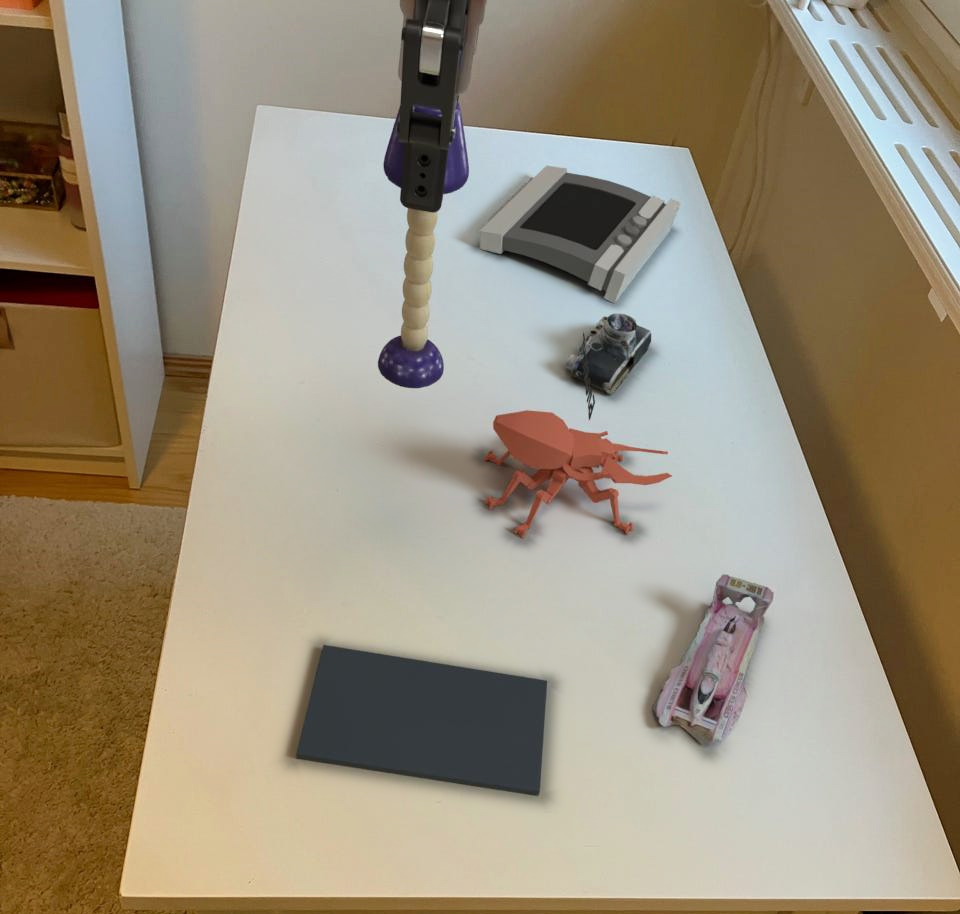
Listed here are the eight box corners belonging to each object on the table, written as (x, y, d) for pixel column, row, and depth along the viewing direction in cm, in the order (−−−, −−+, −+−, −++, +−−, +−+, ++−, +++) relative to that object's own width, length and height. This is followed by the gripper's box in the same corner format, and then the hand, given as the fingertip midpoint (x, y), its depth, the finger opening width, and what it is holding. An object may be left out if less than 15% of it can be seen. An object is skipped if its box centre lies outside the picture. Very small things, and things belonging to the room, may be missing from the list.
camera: (559, 378, 92) (568, 339, 89) (605, 326, 98) (615, 289, 95) (607, 400, 91) (618, 362, 88) (651, 347, 97) (663, 310, 94)
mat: (296, 758, 65) (296, 753, 64) (323, 649, 70) (323, 644, 70) (538, 796, 65) (539, 791, 65) (545, 685, 71) (547, 680, 70)
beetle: (483, 535, 79) (509, 411, 69) (481, 431, 86) (504, 305, 76) (666, 551, 81) (716, 432, 71) (648, 447, 88) (692, 327, 78)
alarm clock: (625, 274, 98) (481, 204, 100) (610, 313, 102) (472, 245, 104) (681, 203, 108) (549, 140, 110) (666, 240, 112) (539, 179, 114)
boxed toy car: (722, 757, 69) (743, 726, 66) (648, 723, 70) (666, 691, 67) (766, 628, 77) (787, 595, 74) (700, 599, 78) (718, 565, 75)
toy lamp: (361, 377, 63) (377, 106, 50) (380, 335, 66) (401, 69, 52) (434, 396, 63) (470, 130, 50) (451, 353, 66) (489, 91, 52)
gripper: (400, -273, 45) (376, 110, 59) (350, -187, 36) (336, 240, 50) (561, -238, 46) (501, 133, 59) (551, -146, 37) (483, 266, 50)
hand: (426, 180), depth 54 cm, fingers closed on toy lamp, 4 cm apart
